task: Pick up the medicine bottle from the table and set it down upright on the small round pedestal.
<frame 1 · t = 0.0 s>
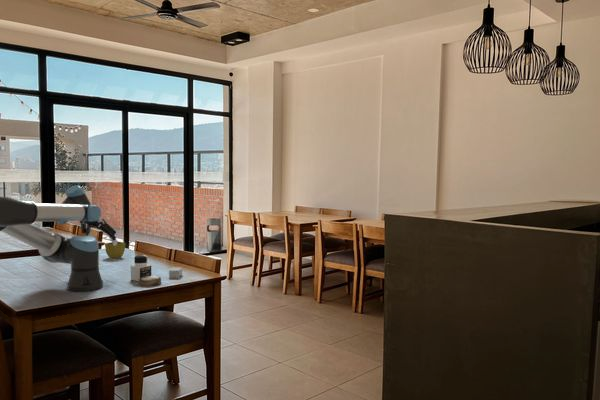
hand: (105, 243, 251), 15 cm above the table, tool tilted 35°, fingers open, 13 cm apart
flower pot: (115, 258, 289), on the table
medicine bottle: (141, 279, 237), on the table
grey junction box: (175, 276, 245), on the table
pedestal: (150, 283, 229), on the table
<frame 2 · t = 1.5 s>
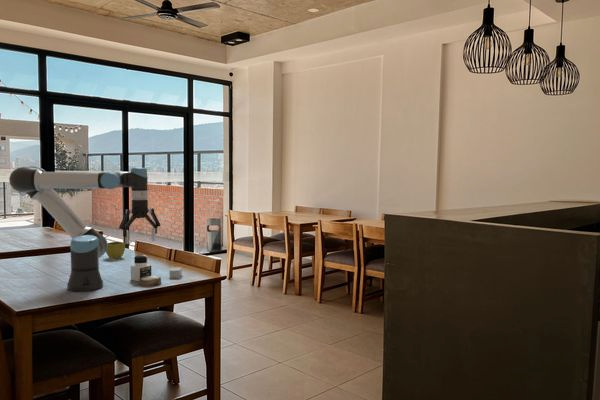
hand: (140, 242, 236), 19 cm above the table, tool pointing down, fingers open, 13 cm apart
nothing on the table moved.
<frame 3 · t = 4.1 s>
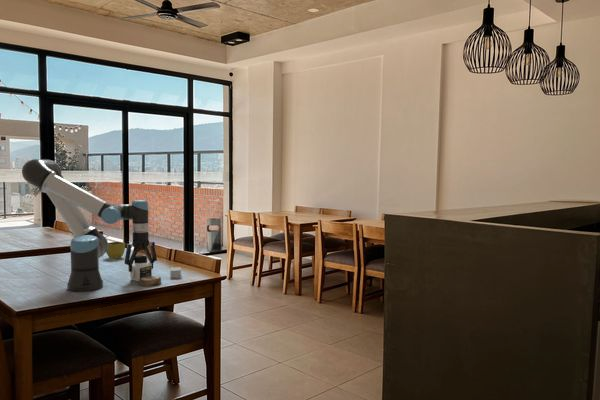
hand: (141, 276, 237), 1 cm above the table, tool pointing down, fingers closed on medicine bottle, 8 cm apart
medicine bottle: (141, 279, 237), on the table, touching gripper
everything else where it was.
when the fingers open (5 cm above the table, at t = 8.8 s): medicine bottle drops 1 cm, resting on pedestal.
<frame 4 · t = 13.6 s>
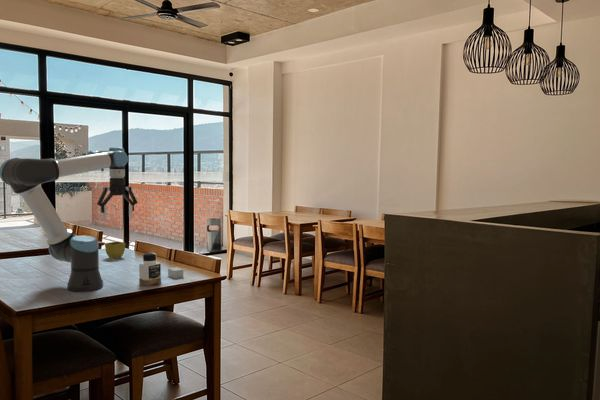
hand: (117, 218, 249), 29 cm above the table, tool pointing down, fingers open, 13 cm apart
medicine bottle: (150, 278, 229), point 3 cm above the table, touching pedestal
at the end: medicine bottle 0.1 cm from the pedestal (horizontally); medicine bottle point 2.5 cm above the table; medicine bottle tilted 0° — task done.
